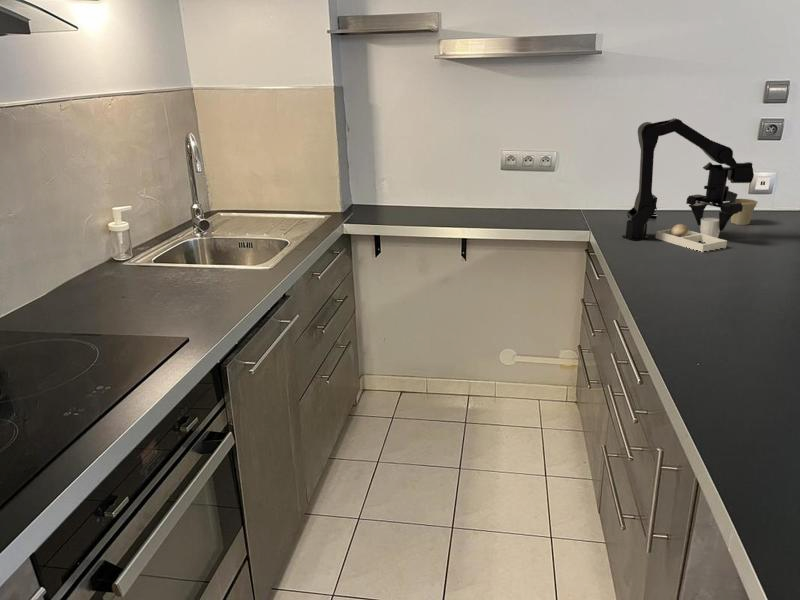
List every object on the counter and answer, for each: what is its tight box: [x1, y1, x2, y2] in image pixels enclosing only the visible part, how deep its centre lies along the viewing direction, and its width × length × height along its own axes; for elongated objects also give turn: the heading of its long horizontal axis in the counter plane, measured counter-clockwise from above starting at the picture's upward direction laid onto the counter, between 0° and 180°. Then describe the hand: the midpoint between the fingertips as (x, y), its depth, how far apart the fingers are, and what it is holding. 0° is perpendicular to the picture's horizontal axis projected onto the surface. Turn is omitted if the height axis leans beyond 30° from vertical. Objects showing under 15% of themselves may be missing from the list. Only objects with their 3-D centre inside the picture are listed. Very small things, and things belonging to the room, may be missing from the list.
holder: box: [655, 228, 728, 253], centre depth 211 cm, size 11×20×2 cm, turn 23°
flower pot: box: [730, 198, 759, 226], centre depth 232 cm, size 9×9×9 cm
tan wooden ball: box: [670, 223, 689, 237], centre depth 214 cm, size 6×6×6 cm
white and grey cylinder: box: [699, 216, 721, 238], centre depth 214 cm, size 7×7×7 cm
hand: (710, 227), depth 214 cm, fingers open, 9 cm apart
